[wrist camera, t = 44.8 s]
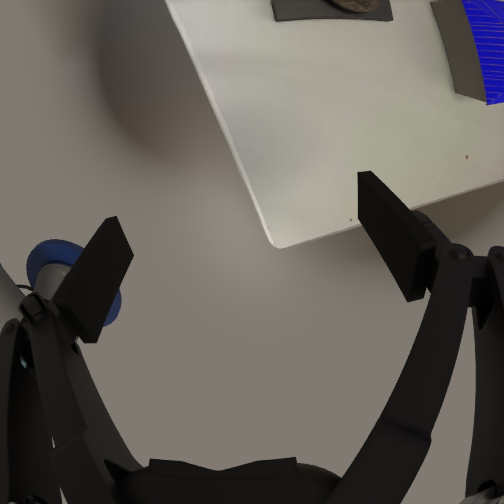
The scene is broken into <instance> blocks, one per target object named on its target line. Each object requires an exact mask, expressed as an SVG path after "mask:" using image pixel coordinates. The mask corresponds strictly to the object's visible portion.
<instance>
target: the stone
mask: <svg viewBox="0 0 504 504" xmlns="http://www.w3.org/2000/svg"><path fill="white" fill-rule="evenodd" d="M332 1H333V2H334V3H336V4H337V5H339V6H341V7H343V8H345V9H348V10H351V11H355V12H371V11H373V10H374V9H375V8H376V7H377V6H378V5H379V4H380V2H381V1H382V0H332Z"/></svg>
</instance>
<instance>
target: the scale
mask: <svg viewBox="0 0 504 504" xmlns="http://www.w3.org/2000/svg"><path fill="white" fill-rule="evenodd" d="M271 2H272V6H273V11H274V15H275V20H276V22H278V21H289V20H304V19H363V20H378V21H392V20H393V16H392V11H391V6H390V1H389V0H382V1H381V2H380V4H379V5H378V6H377V7H376V8H375V9H374V10H373V11H371V12H355V11H351V10H348V9H345V8H343V7H341V6H339V5H337V4H336V3H334V2H333V1H332V0H271Z"/></svg>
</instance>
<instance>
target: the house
mask: <svg viewBox="0 0 504 504" xmlns="http://www.w3.org/2000/svg"><path fill="white" fill-rule="evenodd" d="M430 4H431V7H432V9H433V12H434V15H435V18H436V20H437V23H438V26H439V29H440V33H441V36H442V39H443V42H444V46H445V49H446V53H447V57H448V61H449V65H450V69H451V73H452V77H453V82H454V87H455V92H456V93H458V94H461V95H465V96H468V97H471V98H474V99H477V100H481V101H484V102H486V103H487V104H486V105H491V104H497V103H502V102H504V2H502V1H497V0H443V1H437V2H431V3H430Z"/></svg>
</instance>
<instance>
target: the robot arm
mask: <svg viewBox="0 0 504 504" xmlns="http://www.w3.org/2000/svg"><path fill="white" fill-rule="evenodd" d="M357 174H358V219H359V221H360V222H361V224H362V226H363V227H364V228H365V230H366V232H367V233H368V235H369V236H370V238H371V240H372V241H373V243H374V245H375V246H376V248H377V250H378V251H379V253H380V255H381V256H382V258H383V260H384V261H385V263H386V265H387V266H388V268H389V270H390V271H391V273H392V275H393V277H394V279H395V280H396V282H397V284H398V286H399V288H400V290H401V291H402V293H403V295H404V297H405V299H406V301H407V302H411V301H415V300H419V299H423V298H424V295H425V291H426V288H428V290H429V292H430V293H431V295H430V299H429V302H428V305H427V308H426V311H425V314H424V317H423V320H422V322H421V325H420V328H419V331H418V334H417V336H416V339H415V341H414V344H413V346H412V349H411V351H410V354H409V356H408V359H407V361H406V363H405V366H404V368H403V370H402V372H401V375H400V377H399V379H398V381H397V383H396V385H395V388H394V390H393V392H392V394H391V396H390V398H389V400H388V402H387V404H386V406H385V408H384V409H383V411H382V413H381V415H380V417H379V419H378V420H377V422H376V424H375V426H374V428H373V430H372V431H371V433H370V435H369V436H368V438H367V440H366V442H365V443H364V445H363V446H362V448H361V450H360V451H359V453H358V454H357V456H356V457H355V459H354V461H353V462H352V464H351V465H350V467H349V468H348V470H347V471H346V473H345V474H344V475H343V477H342V478H341V477H339V476H338V475H336V474H334V473H333V472H330V471H328V470H326V469H324V468H321V467H318V466H314V465H309V464H302V463H297V460H296V457H291V458H282V459H273V460H261V461H255V462H251V463H248V464H244V465H241V466H237V467H233V468H229V469H225V470H220V471H216V470H211V469H207V468H204V467H199V466H196V465H193V464H189V463H186V462H182V461H172V460H160V459H150V461H149V466H147V467H142V466H141V465H140V464H139V463H138V462H137V461H136V460H135V459H134V457H133V456H132V455H131V453H130V451H129V450H128V448H127V446H126V444H125V443H124V441H123V439H122V438H121V436H120V434H119V432H118V430H117V429H116V427H115V425H114V423H113V421H112V419H111V417H110V415H109V413H108V412H107V409H106V408H105V405H104V403H103V401H102V399H101V397H100V395H99V393H98V391H97V388H96V386H95V384H94V382H93V379H92V377H91V375H90V372H89V370H88V368H87V365H86V363H85V360H84V358H83V356H82V353H81V350H80V347H79V346H78V344H77V343H76V341H77V339H78V337H80V338H81V340H82V341H83V342H84V343H97V341H98V338H99V336H100V333H101V330H102V328H103V325H104V323H105V320H106V318H107V315H108V313H109V311H110V308H111V306H112V303H113V301H114V299H115V296H116V294H117V292H118V289H119V287H120V285H121V283H122V280H123V278H124V276H125V274H126V272H127V269H128V267H129V265H130V263H131V261H132V259H133V256H134V254H133V252H132V250H131V248H130V246H129V243H128V241H127V239H126V237H125V235H124V232H123V230H122V228H121V225H120V223H119V221H118V218H117V216H114V217H110V218H107V219H105V220H104V222H103V223H102V224H101V226H100V227H99V228H98V230H97V231H96V233H95V234H94V235H93V237H92V238H91V240H90V241H89V242H88V244H87V245H86V247H85V248H84V250H83V251H82V253H81V254H80V256H79V257H78V259H77V260H76V262H75V263H74V265H72V264H70V263H67V262H63V261H50V262H48V263H46V264H45V265H44V266H43V267H42V268H41V270H40V271H39V273H38V275H37V278H36V283H35V287H34V288H32V287H29V286H26V285H16V284H15V283H14V282H13V280H12V279H11V278H10V277H9V275H8V274H7V273H6V271H5V270H4V269H3V267H2V266H1V263H0V504H62V497H61V492H60V488H61V490H62V492H63V494H64V497H65V499H66V501H67V503H68V504H400V503H401V502H402V500H403V498H404V497H405V495H406V493H407V491H408V490H409V488H410V486H411V484H412V482H413V480H414V479H415V477H416V475H417V473H418V471H419V469H420V467H421V465H422V463H423V461H424V459H425V457H426V455H427V452H428V450H429V447H430V445H431V432H432V429H433V427H434V424H435V422H436V419H437V417H438V414H439V412H440V409H441V406H442V403H443V401H444V398H445V395H446V392H447V388H448V386H449V382H450V379H451V376H452V373H453V369H454V366H455V362H456V359H457V355H458V351H459V347H460V343H461V338H462V334H463V329H464V325H465V320H466V314H467V309H468V307H471V308H472V316H473V326H474V339H475V359H476V396H475V397H476V398H475V415H474V427H473V437H472V445H471V452H470V459H469V465H468V472H467V479H466V492H465V499H464V500H463V501H462V502H461V503H460V504H504V247H501V246H493V247H491V248H490V250H489V252H488V256H487V257H486V256H474V255H473V253H472V252H471V250H470V249H468V248H467V247H465V246H463V245H461V244H456V243H451V242H450V240H449V239H448V238H447V237H446V236H445V235H444V234H443V233H442V232H441V230H440V229H439V228H437V226H436V225H435V224H434V223H432V221H431V220H430V219H429V218H428V217H427V215H425V214H423V213H421V212H420V211H418V210H415V211H410V210H409V209H408V207H407V206H406V205H405V204H404V203H403V202H402V201H401V200H400V199H399V198H398V197H397V196H396V195H395V194H394V193H393V192H392V191H391V190H390V189H389V188H388V187H387V186H386V185H385V184H384V183H383V182H382V181H381V180H380V179H379V178H378V177H377V176H376V175H375V174H374V173H373V172H372V171H364V172H357ZM19 288H25V289H28V290H30V291H33V292H32V293H30V294H28V295H27V296H25V295H24V294H23V293H22V292H21V290H20V289H19ZM52 438H53V440H54V444H55V448H53V443H52ZM59 485H60V486H59Z"/></svg>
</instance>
